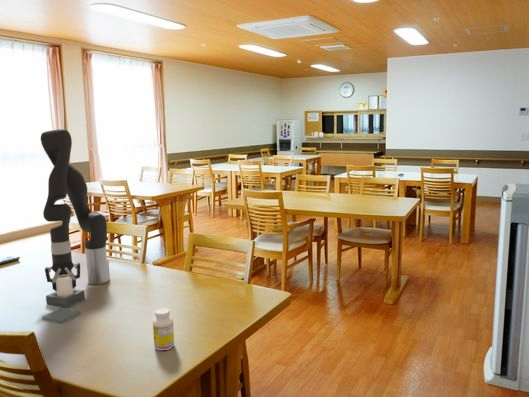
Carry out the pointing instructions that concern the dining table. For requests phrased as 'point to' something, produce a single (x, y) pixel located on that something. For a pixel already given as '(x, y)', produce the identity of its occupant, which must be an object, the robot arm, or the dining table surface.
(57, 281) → the can
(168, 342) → the supplement bottle
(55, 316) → the mat
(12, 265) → the dining table surface
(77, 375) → the dining table surface
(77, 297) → the sleeve
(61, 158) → the robot arm
